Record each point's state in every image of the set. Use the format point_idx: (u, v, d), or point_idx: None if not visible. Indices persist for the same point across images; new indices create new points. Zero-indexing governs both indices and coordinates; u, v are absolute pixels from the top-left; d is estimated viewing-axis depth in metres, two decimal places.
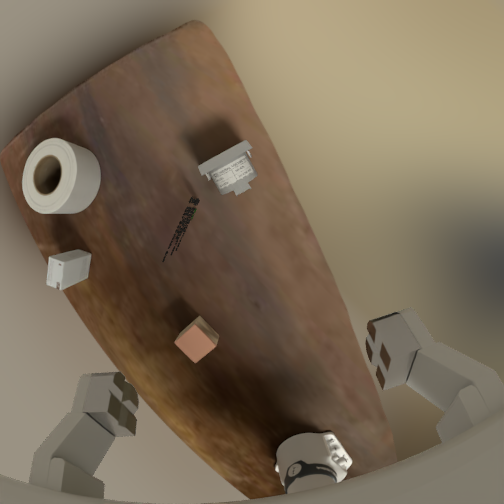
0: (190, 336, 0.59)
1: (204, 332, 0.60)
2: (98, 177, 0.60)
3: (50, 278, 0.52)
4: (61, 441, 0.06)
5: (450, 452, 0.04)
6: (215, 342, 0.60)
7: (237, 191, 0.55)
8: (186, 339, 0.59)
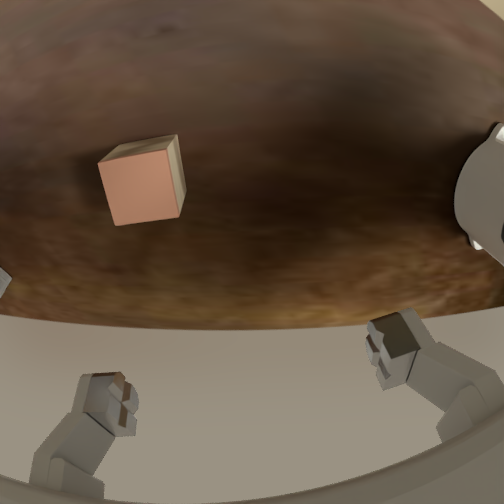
0: (117, 187, 0.24)
1: (127, 154, 0.23)
2: None
3: None
4: (60, 441, 0.06)
5: (450, 452, 0.04)
6: (163, 147, 0.24)
7: None
8: (119, 199, 0.25)
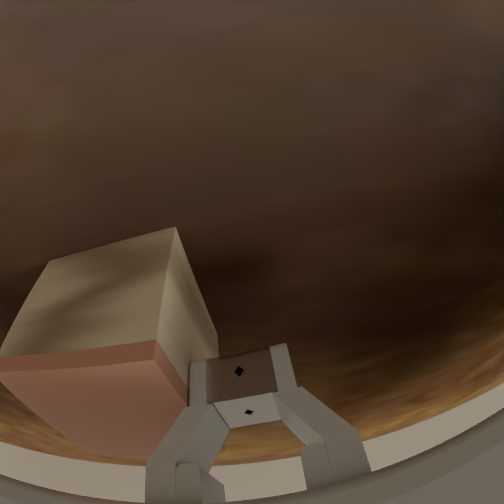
0: (59, 415, 0.08)
1: (49, 347, 0.07)
2: None
3: None
4: (185, 442, 0.06)
5: (450, 452, 0.04)
6: (142, 325, 0.07)
7: None
8: (75, 430, 0.08)
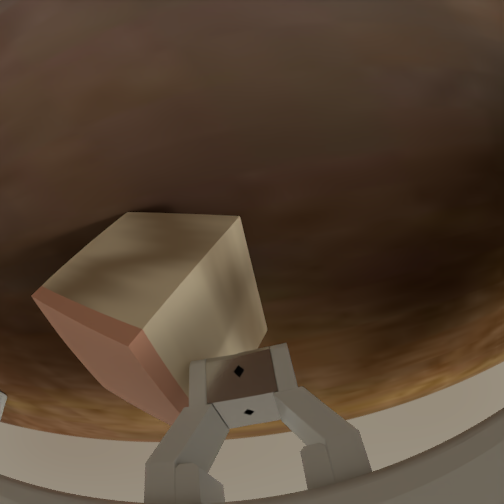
0: (77, 349, 0.10)
1: (76, 295, 0.09)
2: None
3: None
4: (185, 442, 0.06)
5: (450, 452, 0.04)
6: (142, 311, 0.08)
7: None
8: (90, 365, 0.11)
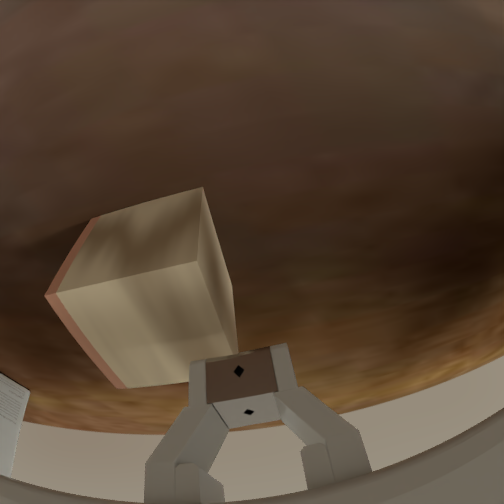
0: None
1: (88, 240, 0.12)
2: None
3: None
4: (185, 442, 0.06)
5: (450, 452, 0.04)
6: (70, 282, 0.10)
7: None
8: None
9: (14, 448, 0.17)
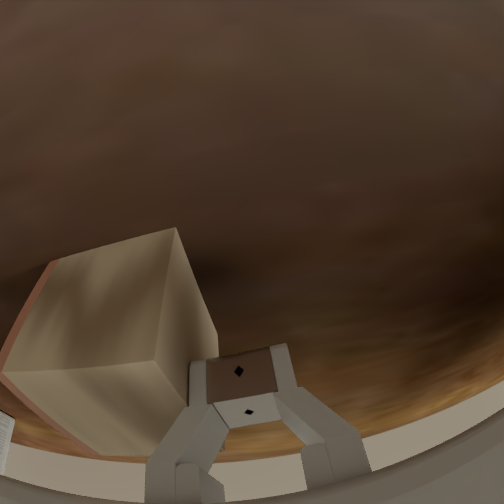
0: None
1: (41, 296, 0.09)
2: None
3: None
4: (185, 442, 0.06)
5: (450, 452, 0.04)
6: (15, 360, 0.07)
7: None
8: None
9: None
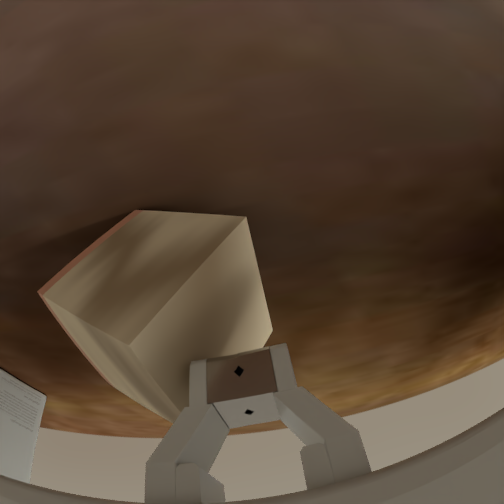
0: None
1: (106, 242, 0.12)
2: None
3: None
4: (185, 442, 0.06)
5: (450, 452, 0.04)
6: (55, 290, 0.10)
7: None
8: None
9: (31, 457, 0.16)
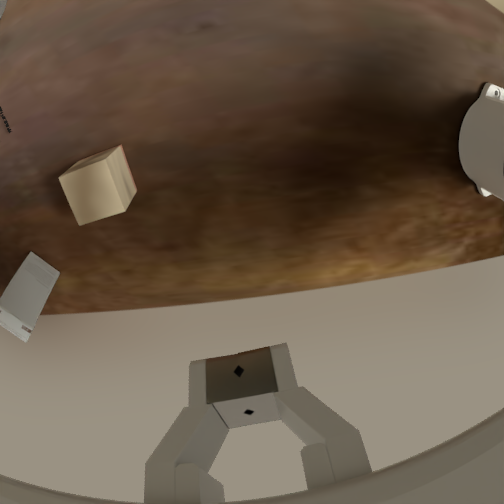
0: None
1: (100, 153, 0.32)
2: None
3: (17, 333, 0.31)
4: (185, 442, 0.06)
5: (450, 452, 0.04)
6: (78, 162, 0.31)
7: None
8: None
9: (44, 302, 0.35)
